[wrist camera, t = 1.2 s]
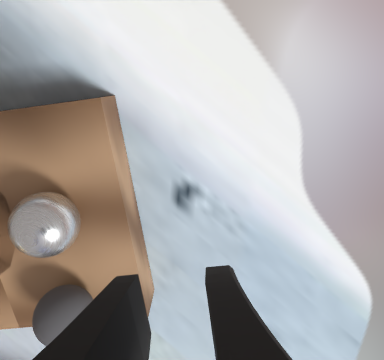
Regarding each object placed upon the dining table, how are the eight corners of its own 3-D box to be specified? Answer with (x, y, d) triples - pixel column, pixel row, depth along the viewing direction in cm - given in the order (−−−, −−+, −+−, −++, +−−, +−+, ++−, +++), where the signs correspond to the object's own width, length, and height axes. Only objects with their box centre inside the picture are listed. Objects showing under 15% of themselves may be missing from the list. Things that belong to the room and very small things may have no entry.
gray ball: (108, 314, 18) (90, 361, 15) (58, 319, 18) (30, 365, 15) (96, 270, 17) (74, 310, 14) (43, 275, 18) (10, 316, 14)
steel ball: (95, 234, 17) (72, 268, 14) (40, 239, 17) (5, 274, 14) (81, 179, 16) (52, 203, 13) (23, 186, 16) (-20, 211, 13)
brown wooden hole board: (154, 289, 21) (148, 316, 18) (-63, 309, 22) (-95, 337, 19) (114, 95, 17) (100, 97, 14) (-149, 131, 18) (-203, 139, 15)
